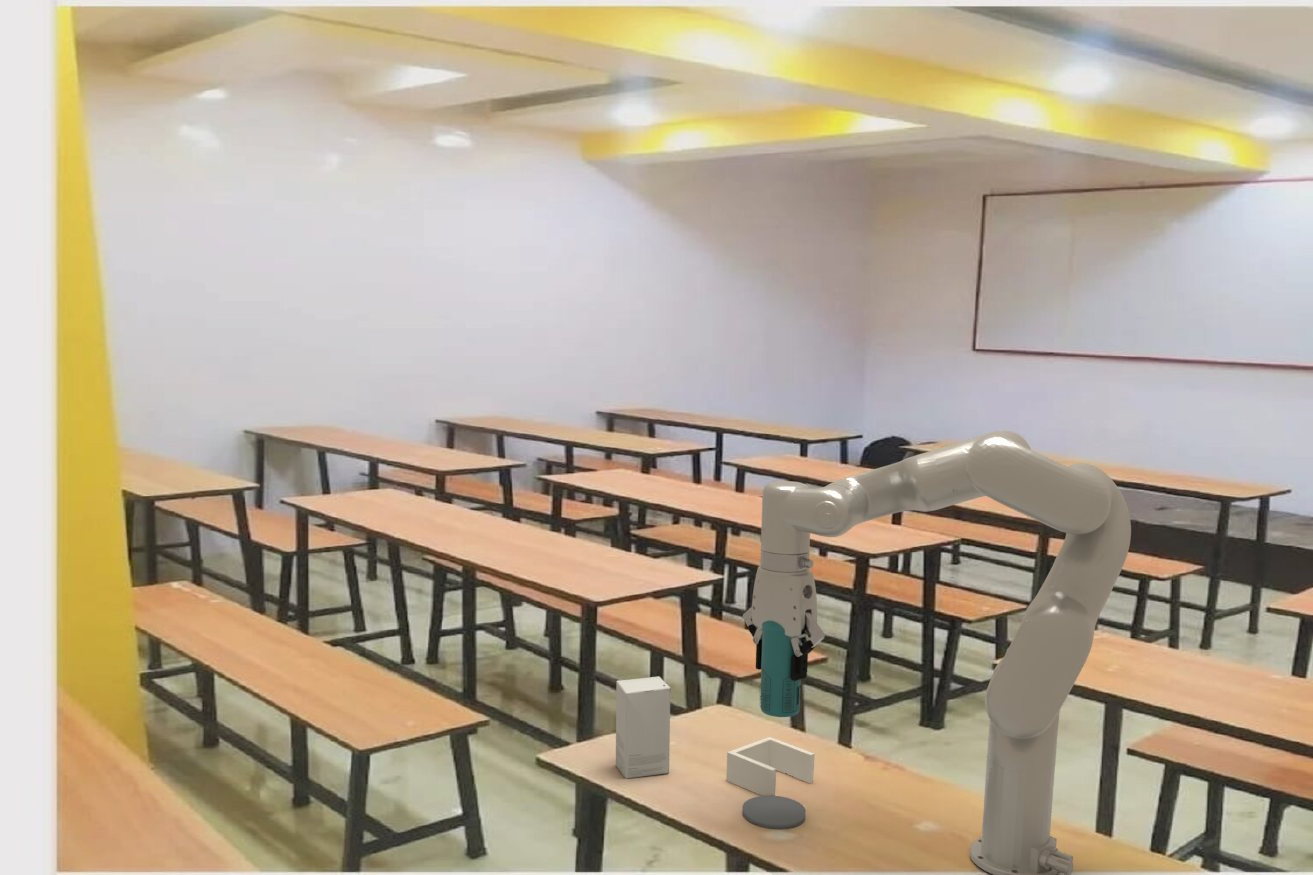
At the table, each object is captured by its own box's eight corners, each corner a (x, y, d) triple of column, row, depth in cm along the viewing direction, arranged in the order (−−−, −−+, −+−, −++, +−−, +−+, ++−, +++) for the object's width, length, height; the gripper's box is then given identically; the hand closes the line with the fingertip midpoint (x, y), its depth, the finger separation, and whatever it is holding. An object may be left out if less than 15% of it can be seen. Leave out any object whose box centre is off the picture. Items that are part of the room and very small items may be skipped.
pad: (818, 816, 185) (818, 810, 185) (777, 834, 178) (777, 828, 178) (770, 795, 192) (770, 790, 192) (729, 813, 185) (729, 807, 185)
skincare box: (658, 760, 206) (661, 675, 204) (670, 775, 200) (673, 687, 198) (613, 765, 203) (615, 678, 201) (623, 780, 197) (626, 691, 195)
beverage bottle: (802, 727, 180) (806, 601, 178) (759, 726, 181) (763, 600, 178) (798, 712, 187) (802, 591, 185) (756, 711, 187) (760, 589, 185)
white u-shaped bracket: (813, 781, 199) (814, 753, 198) (771, 799, 191) (772, 770, 190) (768, 763, 206) (769, 736, 205) (726, 780, 198) (727, 752, 198)
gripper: (844, 567, 177) (839, 681, 179) (758, 548, 190) (755, 655, 192) (813, 574, 172) (808, 692, 174) (727, 555, 184) (724, 664, 187)
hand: (780, 672), depth 183 cm, fingers closed on beverage bottle, 6 cm apart
